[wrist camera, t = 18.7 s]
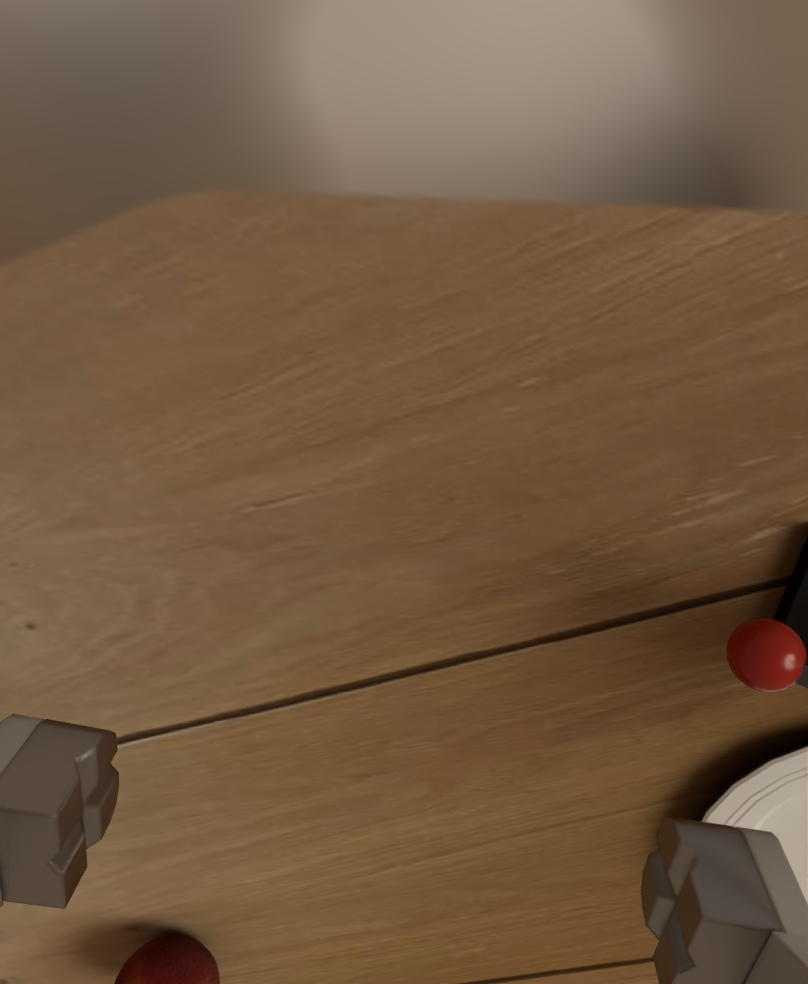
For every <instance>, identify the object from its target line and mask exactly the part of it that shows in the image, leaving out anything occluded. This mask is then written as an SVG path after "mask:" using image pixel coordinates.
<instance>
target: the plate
mask: <svg viewBox="0 0 808 984" xmlns="http://www.w3.org/2000/svg"><path fill="white" fill-rule="evenodd" d="M700 821H701V822H708V823H715V824H722V825H729V826H733V827H741V828H748V829H755V830H762V831H768V832H772V833H773V834H774V835H775V836H776V837H777V838H778V839H779V841H780V844H781V846H782V848H783V850H784V852H785V855H786V857H787V859H788V861H789V864H790V866H791V868H792V870H793V872H794V875H795V877H796V879H797V881H798V883H799V886H800V888H801V890H802V892H803V895H804V897H805V899H806V901H807V903H808V744H807V745H804V746H802V747H799V748H796V749H794V750H791V751H789V752H786V753H783V754H781V755H778V756H776V757H773V758H770V759H769V760H767V761H765V762H764V763H762V764H761V765H759V766H758V767H756V768H754V769H753V770H751V771H750V772H748V773H747V774H745V775H743V776H742V777H740V778H739V779H737V780H736V781H734V782H732V783H731V785H730V786H729V787H728V788H727V789H726V790H725V791H724V792H723V793H722V794H721V795H720V796H719V797H718V798H717V799H716V800H715V801H714V802H713V803H712V804H711V805H710V806H709V807H708V808H707V809H706V811H705V813H704V814H703V816H702V818H701V820H700Z"/></svg>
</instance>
